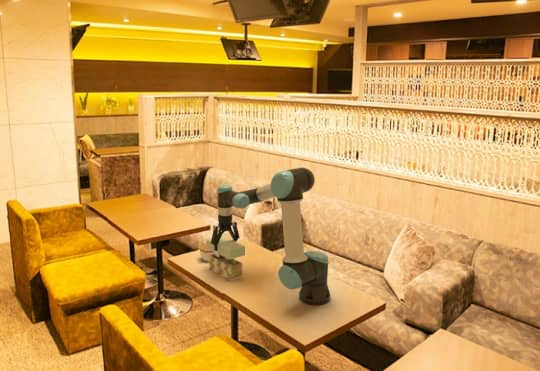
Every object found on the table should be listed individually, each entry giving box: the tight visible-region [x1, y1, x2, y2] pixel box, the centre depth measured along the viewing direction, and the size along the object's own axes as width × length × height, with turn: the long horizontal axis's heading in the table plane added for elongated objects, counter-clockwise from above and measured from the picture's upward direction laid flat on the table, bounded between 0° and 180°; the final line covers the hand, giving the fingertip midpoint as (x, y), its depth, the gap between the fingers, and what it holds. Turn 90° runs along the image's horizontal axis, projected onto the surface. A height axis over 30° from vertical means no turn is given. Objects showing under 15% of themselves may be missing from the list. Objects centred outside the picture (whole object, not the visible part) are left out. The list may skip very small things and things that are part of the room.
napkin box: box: [208, 254, 243, 282], centre depth 251 cm, size 20×8×8 cm, turn 40°
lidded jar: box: [199, 244, 215, 263], centre depth 269 cm, size 11×11×9 cm
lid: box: [206, 235, 246, 259], centre depth 248 cm, size 22×10×5 cm, turn 40°
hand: (225, 253), depth 249 cm, fingers closed on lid, 10 cm apart
